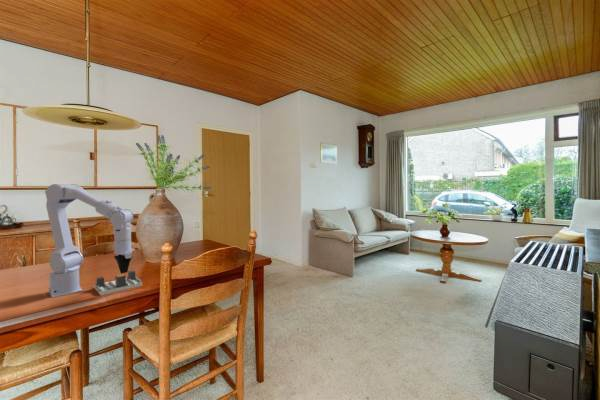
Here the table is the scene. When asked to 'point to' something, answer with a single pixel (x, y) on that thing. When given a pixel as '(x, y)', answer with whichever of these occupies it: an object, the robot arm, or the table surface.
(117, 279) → the block
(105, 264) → the table surface
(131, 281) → the panel
